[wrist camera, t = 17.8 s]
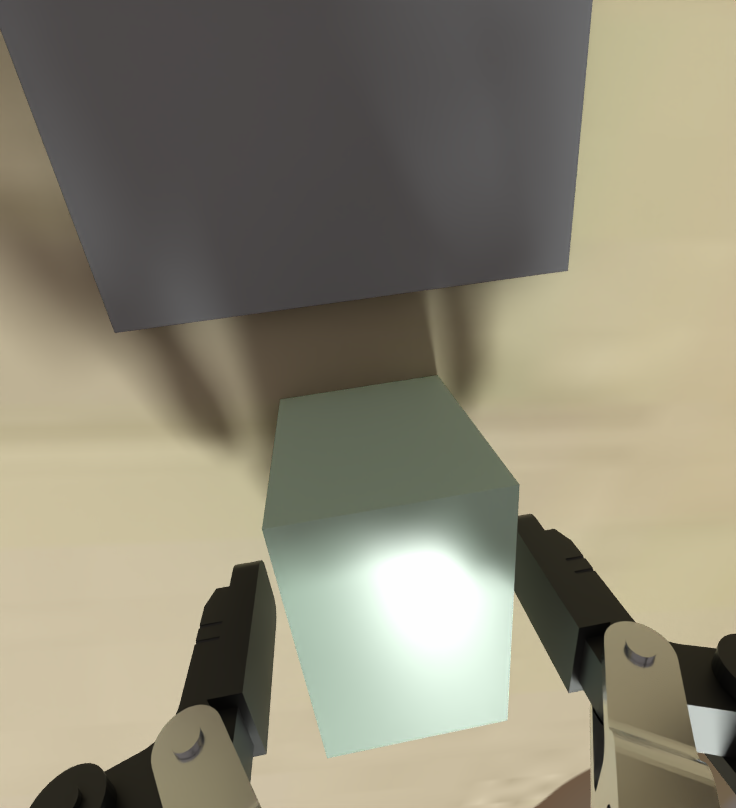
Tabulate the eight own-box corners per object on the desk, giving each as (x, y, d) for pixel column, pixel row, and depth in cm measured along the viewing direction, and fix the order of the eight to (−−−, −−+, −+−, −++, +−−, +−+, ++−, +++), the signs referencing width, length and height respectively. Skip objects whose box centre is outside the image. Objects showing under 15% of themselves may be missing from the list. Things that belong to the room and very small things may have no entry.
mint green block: (280, 397, 13) (262, 529, 8) (436, 373, 14) (519, 484, 8) (320, 580, 17) (327, 758, 12) (445, 558, 17) (507, 720, 12)
